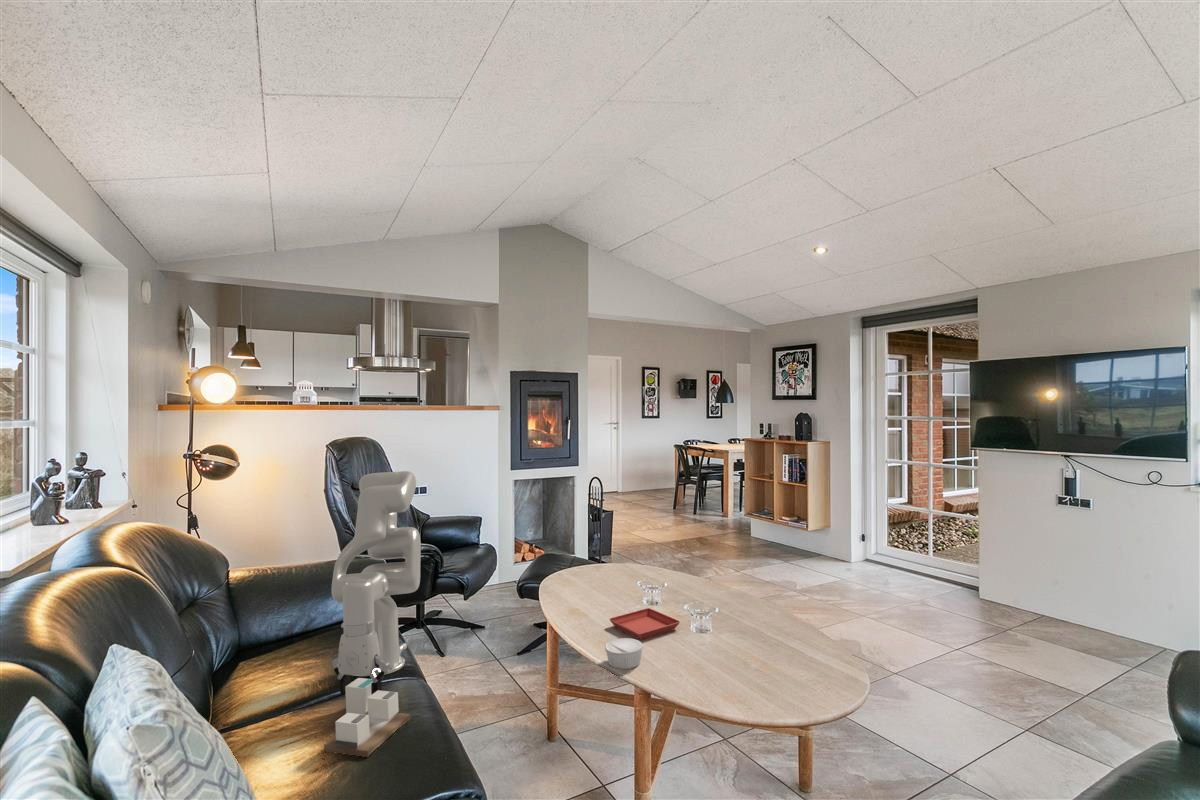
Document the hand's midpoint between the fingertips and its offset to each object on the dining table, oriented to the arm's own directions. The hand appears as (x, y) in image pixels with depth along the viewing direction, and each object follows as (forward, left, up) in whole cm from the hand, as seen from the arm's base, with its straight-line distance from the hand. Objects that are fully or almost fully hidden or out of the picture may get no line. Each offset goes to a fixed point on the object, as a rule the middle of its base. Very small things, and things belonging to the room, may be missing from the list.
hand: (361, 694), depth 149 cm
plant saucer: (-68, +62, -5) cm, 92 cm away
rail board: (+9, +10, -4) cm, 14 cm away
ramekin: (-41, +61, -5) cm, 74 cm away
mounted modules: (+9, +10, -2) cm, 13 cm away
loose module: (-1, 0, -4) cm, 5 cm away
